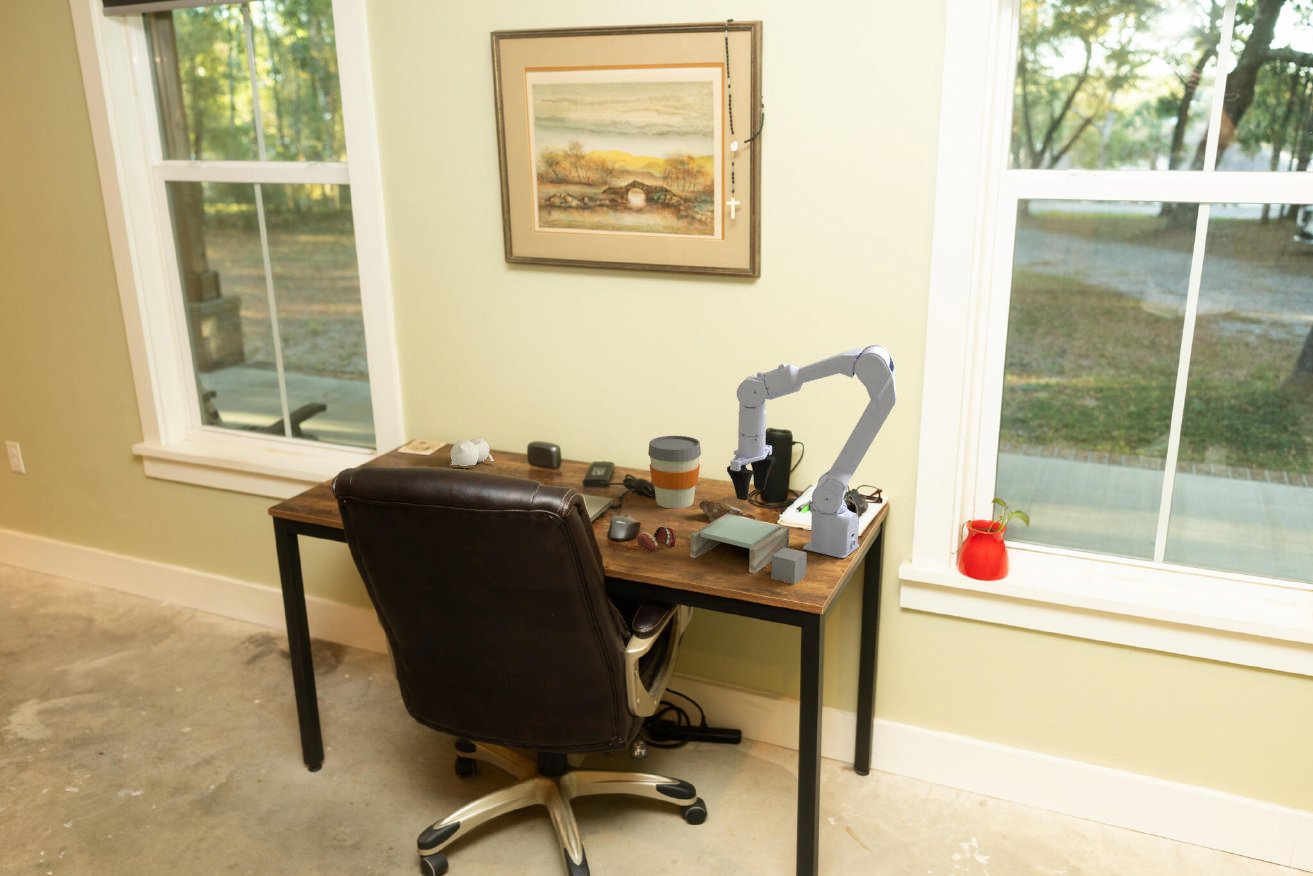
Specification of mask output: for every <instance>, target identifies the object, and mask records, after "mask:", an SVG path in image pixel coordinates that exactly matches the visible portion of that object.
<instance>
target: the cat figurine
mask: <svg viewBox="0 0 1313 876" xmlns="http://www.w3.org/2000/svg"><path fill="white" fill-rule="evenodd" d="M450 458H451V462H450V465H460V466H468V465H475V466H476V464H477V461H483V462H485V461H486V460H487V458H489V460H490V462H491V461H494V458H493V456H492V455H491V453H490V446H489V444H488V442H487V441H486V440H484V439H483V438H482V437H478V438H474V439H471V440H466V439H461V440H458V441H457V442H455V443H454V445H453V446H452V447H451V450H450ZM484 460H485V461H484ZM494 462H495V461H494ZM451 463H452V464H451Z"/></svg>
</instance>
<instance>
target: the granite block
mask: <svg viewBox="0 0 1313 876" xmlns="http://www.w3.org/2000/svg"><path fill="white" fill-rule="evenodd" d="M807 555H808V553H807V552H806V551H802V550H798V549H793V548H790V547H789V548H785V547H784V548H782V549H781V550H779V551H778V552H776V553H775V554H774V555H772V562H771V580H775V579H777V580H776V581H779V580H780V581H779V582H782V581H785V582H784V583H786V582H787V583H788V584H790V583H793V584H792V585H794V584H795V583H796V584H797V583H798V582H800V581H801V580H802V579H803V577H804V578H805V577H806V576H807ZM800 579H801V580H800ZM799 580H800V581H799ZM796 584H795V585H796Z"/></svg>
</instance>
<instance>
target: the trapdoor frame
mask: <svg viewBox="0 0 1313 876" xmlns="http://www.w3.org/2000/svg"><path fill="white" fill-rule="evenodd" d="M729 515H732V514H725V515H724V516H722V517H720V518H718V519H717V520H715V521H713V522H711V521H710V522H709V523H708V524H706V525H705V526H703V527H701V528H699V529H697V530H696V531H694V532H692V533H691V534H690V536H689V537H690V539H689V540H690V544H689V545H690V547H689V548H690V558H694V559H696V558H698V557H699V556H701V555H703V554H704V552H705V553H706V552H708V551H709V550H711V549H713V548H714V547H716V546H717V545H720V544H721V543H722V542H721V541H717V540H712V539H708V538H704V537H700V532H701V531H703V530H704V529H706V528H708V527H710V526H711V525H713V524H715V523H717V522H718V521H720V520H722V519H723V518H725V517H727V516H729ZM733 516H736V515H733ZM737 517H741V516H737ZM742 518H745V517H742ZM746 519H750V518H746ZM750 520H754V519H750ZM755 521H759V522H764V523H768V524H773V525H777V526H779V530H778V531H776V532H775V533H773V534H772V535H770V536H769V537H767V538H766V539H764V540H763V541H761V542H760V543H758V544H756V545H755V546H753V547H752V548H750V549H749V560H748V561H749V568H748V571H749V573H751V574H756V573H758V572H759V571H761V569H763V568H764V567H766V566H767V565H769V564H771V563H772V555H774V554H775V553H776V552H778V551H779V550H781V549H782V548H784V547H785V548H789V549H790V529H791V528H790V526H784V525H781V524H776V523H771V522H767V521H762V520H759V519H758V520H755Z"/></svg>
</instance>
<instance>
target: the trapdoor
mask: <svg viewBox="0 0 1313 876" xmlns="http://www.w3.org/2000/svg"><path fill="white" fill-rule="evenodd" d="M759 521H760V520H759ZM759 521H755V520H750V519H746V518H742V517H737V516H733V515H729V516H727V517H725V518H723V519H722V520H720V521H718V522H717V523H715V524H713V525H711V526H710V527H708V528H706V529H704V530H703V531H701V532H700V537H704V538H708V539H712V540H717V541H721V543H725V544H730V545H733V546H738V547H741V548H746V549H749V550H750V548H752V547H753V546H755V545H756V544H758V543H760V542H761V541H763V540H764V539H766V538H767V537H769V536H770V535H772V534H773V533H775V532H776V531H778V530H779V526H777V525H778V524H777V525H773V524H774V523H772V524H768V523H769V522H768V523H764V522H765V521H763V522H759Z"/></svg>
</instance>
